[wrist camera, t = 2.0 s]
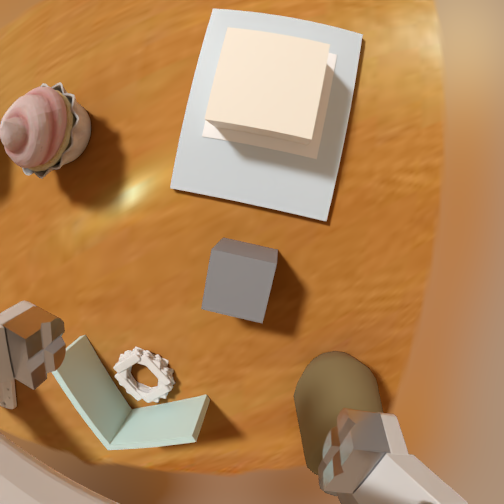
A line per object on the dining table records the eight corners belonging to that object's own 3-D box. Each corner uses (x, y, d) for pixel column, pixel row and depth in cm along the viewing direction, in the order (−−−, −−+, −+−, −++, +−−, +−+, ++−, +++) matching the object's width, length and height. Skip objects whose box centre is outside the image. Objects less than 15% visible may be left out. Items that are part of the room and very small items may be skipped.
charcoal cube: (265, 300, 30) (262, 323, 25) (214, 288, 31) (201, 308, 26) (278, 249, 29) (276, 263, 24) (223, 237, 29) (211, 249, 25)
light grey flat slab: (325, 220, 28) (326, 221, 27) (172, 187, 29) (169, 188, 28) (361, 36, 24) (362, 34, 23) (214, 11, 24) (213, 8, 24)
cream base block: (307, 145, 26) (311, 139, 22) (215, 127, 26) (204, 119, 23) (324, 61, 24) (330, 44, 20) (234, 45, 25) (227, 27, 21)
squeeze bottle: (292, 404, 33) (290, 546, 15) (293, 341, 31) (296, 493, 13) (364, 400, 32) (400, 534, 14) (373, 338, 30) (436, 474, 13)
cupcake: (119, 104, 27) (58, 82, 18) (83, 190, 30) (17, 198, 20) (59, 81, 27) (-2, 62, 17) (29, 158, 29) (-35, 159, 20)
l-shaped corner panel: (211, 397, 34) (196, 441, 27) (131, 412, 36) (107, 449, 29) (161, 306, 32) (130, 339, 25) (82, 334, 34) (47, 364, 27)
